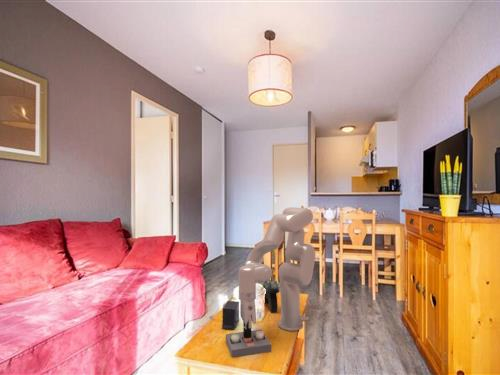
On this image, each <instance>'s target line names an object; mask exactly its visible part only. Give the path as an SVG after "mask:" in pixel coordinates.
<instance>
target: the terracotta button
mask: <svg viewBox="0 0 500 375" xmlns="http://www.w3.org/2000/svg"><path fill="white" fill-rule="evenodd" d="M249 341H252V336H251V338H244V342H249Z"/></svg>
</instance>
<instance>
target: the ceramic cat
mask: <svg viewBox="0 0 500 375" xmlns="http://www.w3.org/2000/svg"><path fill="white" fill-rule="evenodd" d="M263 287H264V288H265V289H266V294H265V305H267V304H269V312H270V313H271V314H277V313H278V304H279V303H278V297H277V296H278V295H277V294H279V293H280V288H279V287H280V286H279V284H278V282H277V280H276V279H273V276H272V277H271V278H270V279H269V280H268V281H265V282H263V285H262V288H263Z"/></svg>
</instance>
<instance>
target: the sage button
mask: <svg viewBox="0 0 500 375" xmlns="http://www.w3.org/2000/svg"><path fill="white" fill-rule="evenodd" d="M239 342H240V336H239V335H238V334H233V335H232V336H231V343H232V344H235V343H239Z"/></svg>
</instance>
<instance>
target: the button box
mask: <svg viewBox="0 0 500 375" xmlns="http://www.w3.org/2000/svg"><path fill="white" fill-rule="evenodd" d="M257 331H263V330H262V329H253V330H251V336H252V341H249V342H244V336H243V331H240V332H232V333H225V342H226V344H227V349H228V351H229V354H230V357H231V358H237V357H244V356H250V355H251V356H253V355H258V354H263V353H270V352H272V344H271V342H270V341H269V339H268V337H267V336H266V335H265V333H264V339H263V340H256V332H257ZM233 334H238V335H239V336H240V342H239V343H235V344H232V343H231V336H232V335H233Z"/></svg>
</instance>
